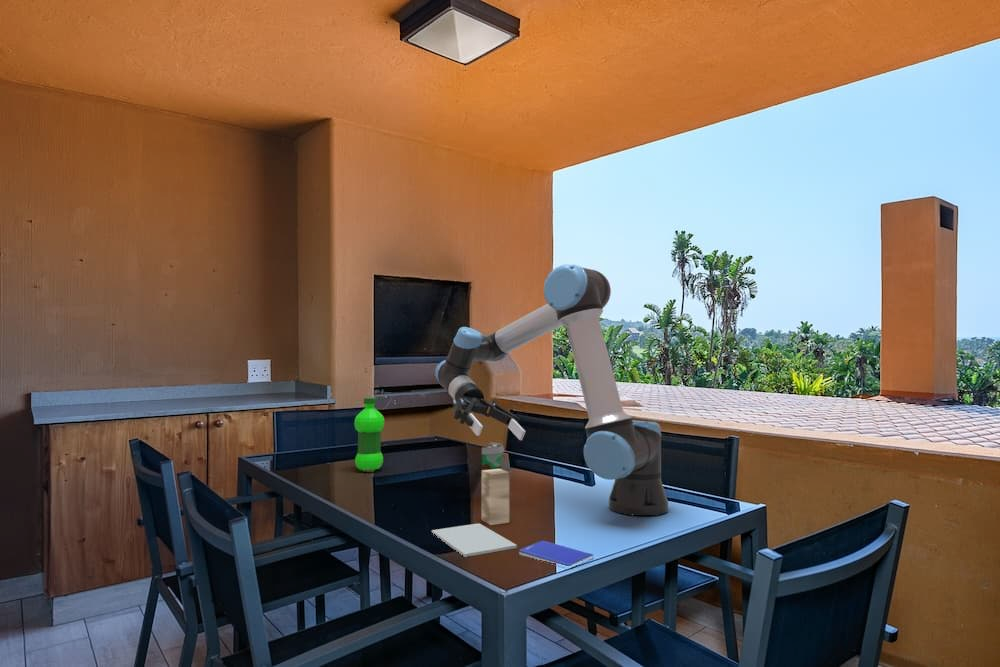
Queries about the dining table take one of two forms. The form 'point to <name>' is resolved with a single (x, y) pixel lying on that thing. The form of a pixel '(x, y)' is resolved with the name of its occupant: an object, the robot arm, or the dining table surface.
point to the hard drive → (554, 553)
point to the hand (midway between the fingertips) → (501, 433)
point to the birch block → (495, 496)
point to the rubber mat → (473, 539)
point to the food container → (492, 456)
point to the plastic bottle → (369, 436)
